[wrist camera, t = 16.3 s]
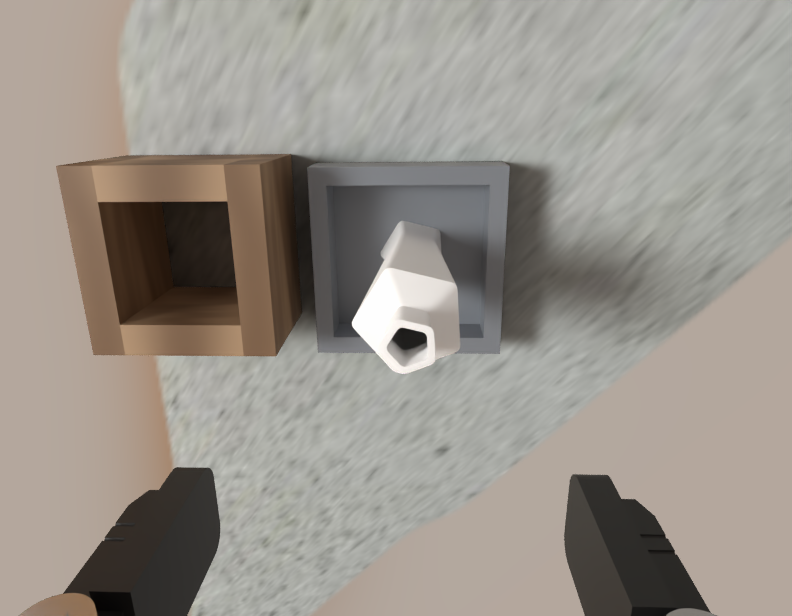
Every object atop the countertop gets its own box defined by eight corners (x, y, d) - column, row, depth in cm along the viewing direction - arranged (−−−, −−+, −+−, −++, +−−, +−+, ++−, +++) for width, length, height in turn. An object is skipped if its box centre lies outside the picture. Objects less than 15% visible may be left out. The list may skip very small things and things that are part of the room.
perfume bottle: (368, 279, 36) (334, 389, 21) (384, 210, 34) (358, 281, 20) (439, 296, 36) (452, 417, 22) (458, 229, 34) (485, 311, 20)
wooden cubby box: (291, 154, 34) (259, 164, 27) (301, 312, 37) (275, 356, 30) (126, 155, 34) (56, 165, 28) (151, 312, 38) (93, 354, 31)
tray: (502, 161, 33) (509, 165, 31) (493, 335, 37) (499, 353, 34) (316, 162, 34) (306, 167, 31) (325, 334, 38) (318, 352, 35)
